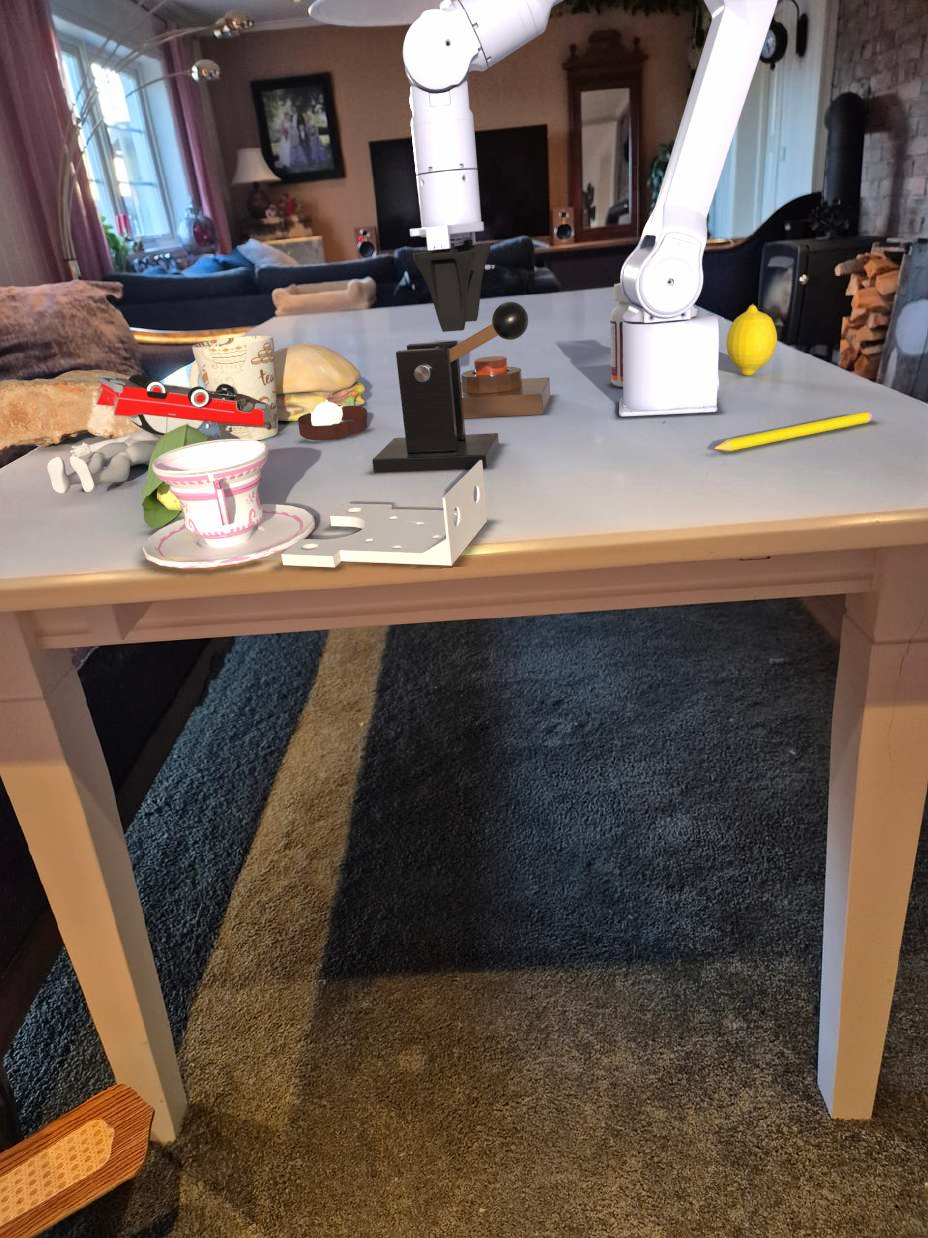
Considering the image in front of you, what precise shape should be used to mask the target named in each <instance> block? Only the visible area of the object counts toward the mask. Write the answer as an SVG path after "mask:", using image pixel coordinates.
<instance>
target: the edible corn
mask: <svg viewBox="0 0 928 1238" xmlns="http://www.w3.org/2000/svg"><path fill="white" fill-rule="evenodd" d="M205 434H206V433H204V432H202V431H201V430H200V429H199V430H197V429H195V428H193V427H191V426H189V425H188V424H185V425H183V426H180V427H178V428H176V429H174V430H172V431H170V432H168V433H166V434H164V436H163V437H162V438H161V439H160V440H159V441H158V443H157V445H156V447H155V449H154V451H153V453H152V455H151V458H150V462H149V465H148V470H147V475H146V481H145V484H144V486H143V488H142V489H141V493H142V496H143V498H142V501H141V506H143V520H144V522H145V523H146V524H147V525H148V526H149V528H150V529H161V528H164V527H165V526H167V524H169V523H170V522H172V521H173V520H174V519H175V518H176V517H178V515H179V514H180V513H182V508H181V505H180V502H179V500H178V499H177V498H176V497H175V496H174V495H173V494H172V493H171V492H170V485H168V484H167V483H165V482H163V481H162V480H160V479H159V478H158V477H157V476H156V475H155V474H154V472H153V469H152V463H153V462H154V460H155V459H156V458H158V457H159V456H161V455H162V454H164V453H167V452H169V451H171V450H174V449H177V448H181V447H184V446H188V445H192V444H197V443H202V442H208V441H209V439H208V436H207V435H208V434H207V435H205Z"/></svg>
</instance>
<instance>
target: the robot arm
mask: <svg viewBox="0 0 928 1238" xmlns="http://www.w3.org/2000/svg"><path fill="white" fill-rule="evenodd" d="M778 1H779V0H703V2H704V4H705V5H706V7H707V9H708V11H709V13H710V16H711V22H710V26H709V28H708V31H707V35H706V40H705V42H704V45H703V48H702V52H701V56H700V58H699V62H698V65H697V69H696V71H695V75H694V78H693V81H692V85H691V87H690V91H689V94H688V98H687V101H686V105H685V108H684V111H683V114H682V117H681V121H680V124H679V128H678V131H677V134H676V137H675V140H674V144H673V147H672V151H671V154H670V157H669V160H668V162H667V163H668V164H667V167H666V170H665V174H664V176H663V180H662V183H661V186H660V189H659V193H658V196H657V200H656V203H655V206H654V207H653V210H652V212H651V214H650V216H649V217H648V219H647V222H646V223H645V226H644V228H643V230H642V233H641V237H640V240H639V242H638V244H637V246H636V247H635V248H634V249H633V251H631V253H630V254H629V255H628V256H627V257H626V259H625V260H624V263H623V265H622V267H621V271H620V275H619V276H620V277H619V279H620V280H619V281H620V282H619V283H620V284H621V289H622V292H623V294H624V296H625V298H626V299H627V300H628V301H629V302H630V303H631V304H630V306H629V308H628V310H627V312H626V313H625V314H624V315H623V320H624V321H623V387H622V395H623V396H621V397H620V398H619V407H618V409H619V410H618V413H619V417H624V418H625V417H644V416H662V415H665V416H666V415H681V414H683V415H684V414H704V413H716V412H718V406H717V405H718V392H719V389H720V375H719V353H720V328H719V327H720V326H719V318H718V316H717V315H698V308H697V307H695V306H694V305H695V303H696V302H697V300H698V298H699V297H700V295H701V292H702V289H703V285H704V270H703V256H704V251H705V248H706V245H707V242H708V228H707V227H708V226H707V223H708V222H707V219H708V215H709V211H710V208H711V205H712V202H713V200H714V197H715V193H716V191H717V187H718V184H719V181H720V178H721V175H722V172H723V169H724V167H725V163H726V160H727V157H728V154H729V151H730V148H731V144H732V142H733V138H734V136H735V134H736V133H735V132H736V129H737V126H738V124H739V121H740V117H741V114H742V112H743V108H744V106H745V102H746V99H747V96H748V93H749V90H750V87H751V84H752V81H753V78H754V75H755V72H756V69H757V67H758V63H759V60H760V57H761V54H762V51H763V48H764V45H765V42H766V38H767V35H768V32H769V29H770V27H771V23H772V20H773V17H774V15H775V11H776V8H777V5H778ZM561 2H564V0H453V2H452V0H442V1H440V3H439V9H438V8H432V9H431V8H430V9H427V10H424V11H423V12H421V14H420V16H418V18H417V19H416V20H415V21H413V23H412V24H411V25H410V27H409V28H408V30H407V32H406V34H405V37H404V40H403V45H402V59H403V63H404V64H403V65H404V70H405V74H406V78H407V80H408V82H409V84H410V94H409V105H410V107H409V108H410V111H411V112H412V117H411V119H410V127H411V136H412V147H413V157H414V165H415V175H416V186H417V194H418V204H419V213H420V222H421V224H420V225H421V227H418V228H410V229H409V236H410V237H420V238H426V247H427V251H425V252H416V253H413V254H412V256H413V262H414V264H415V266H416V267H417V269H418V271H419V272H420V274H421V276H422V277H423V280H424V282H425V284H426V286H427V289H428V291H429V295H430V297H431V301H432V303H433V306H434V310H435V313H436V317H437V320H438V323H439V327H440V329H441V331H442V333H447V332H461V331H464V330H465V327H466V323H468V322H477V321H478V318H479V312H480V303H481V291H482V282H483V276H484V271H485V268H486V263H487V260H488V258H489V256H490V254H491V253H490V252H491V249H492V248H491V243H484V244H483V243H481V244H476V233H478V232H484V231H485V222H484V221H482V213H481V197H480V185H479V173H478V172H479V171H478V159H477V146H476V135H475V133H476V132H475V122H474V121H475V120H474V114H473V112H472V110H471V109H470V97H469V85H468V84H469V82H468V79H469V76H470V73H471V72H476V71H477V72H485V71H486V70H488V68H490V67H492V66H494V65H495V64H497V63H499V62H500V61H502V60H503V59H505V58H506V57H508V56H509V55H511V54H513V53H514V52H515V51H517V50H519V49H520V48H522V47H523V46H524V45H526V44H529V43H530V42H531V41H533V40H534V39H536V38H537V37H539V36H540V35H542V34H544V33H545V32H546V29H547V26H548V23H549V18H550V16H551V15H550V14H551V11H552V9H553V7H555V6H556V5H558V4H560V3H561Z"/></svg>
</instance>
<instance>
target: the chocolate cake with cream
mask: <svg viewBox="0 0 928 1238" xmlns="http://www.w3.org/2000/svg"><path fill="white" fill-rule="evenodd" d="M344 421H345V422H344ZM297 425H298V431H299V435H300V437H301V438H304V439H307V440H310V441H331V440H333V441H334V440H340V439H346V438H348V437H349V436H350V437H351V436H354V435H356V434H359V433H362V432H363V431H365V430H366V429H367V427H368V410H367V409H366V407H364V406H361V405H360V406H341V407H339V406H338V405H336V404H335V403H333V402H329V401H328V400H327V399H326V400H325V402H322V403H320V404H319V405H318V406H317V407H316V408H315V409H314V410H313V412H310V413H308V414H305V415H302V416H300V417H299V418H298V421H297Z"/></svg>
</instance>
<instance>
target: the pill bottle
mask: <svg viewBox="0 0 928 1238" xmlns="http://www.w3.org/2000/svg"><path fill="white" fill-rule="evenodd" d="M613 301H614V302H618V304H617V306H615V307H614V308H613V309H612V310H611V312H610V316H609V317H610V318H609V319H610V320H609V321H610V322H609V323H610V329H609V330H610V373H611V375H610V376H611V383H612V385H613V386H615V387H618V388H623V321H624V320H623V315H624V314H625V313H626V312H627V310H628V308H629V306H630V304H631V303H630V302H629V301H628V300H627V299H626V298H625V296H624V294H623V292H622V289H621V284H620V282H618V283H614V285H613Z"/></svg>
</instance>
